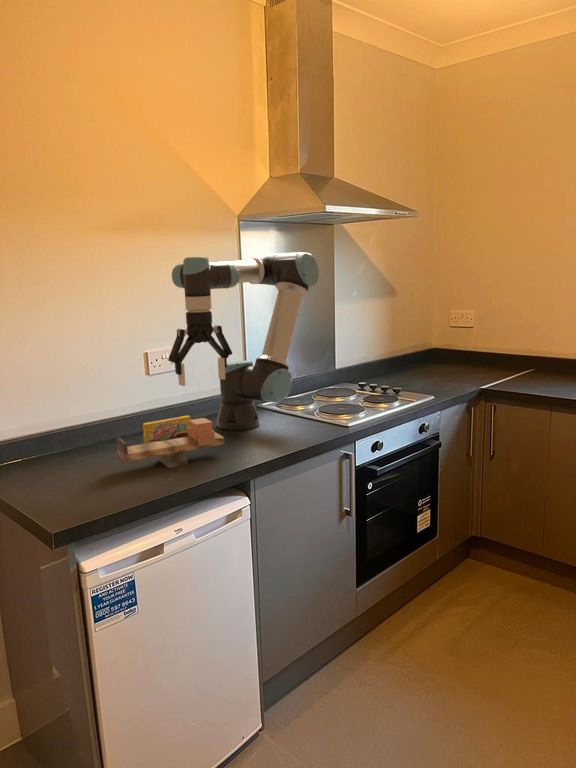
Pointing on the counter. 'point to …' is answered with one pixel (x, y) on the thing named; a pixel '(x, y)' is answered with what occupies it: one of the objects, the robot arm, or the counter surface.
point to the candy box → (166, 429)
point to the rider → (201, 431)
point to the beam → (164, 450)
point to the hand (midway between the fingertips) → (202, 382)
